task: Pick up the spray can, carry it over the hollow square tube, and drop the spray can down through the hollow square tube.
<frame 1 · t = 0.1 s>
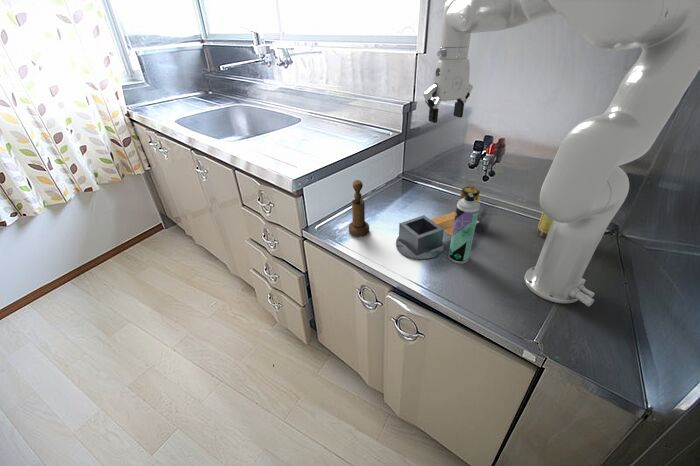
hand: (445, 119, 95), 31 cm above the countertop, fingers open, 9 cm apart
hollow square tube: (419, 245, 95), on the countertop
sauce bottle: (547, 235, 97), on the countertop
brown wooden tall piece: (359, 232, 103), on the countertop
spray can: (458, 258, 90), on the countertop
condiment: (462, 223, 105), on the countertop
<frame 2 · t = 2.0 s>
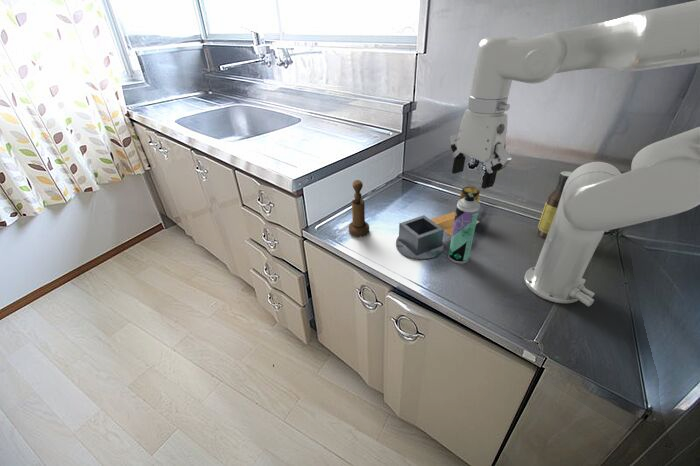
hand: (471, 179, 77), 24 cm above the countertop, fingers open, 9 cm apart
nothing on the countertop moved.
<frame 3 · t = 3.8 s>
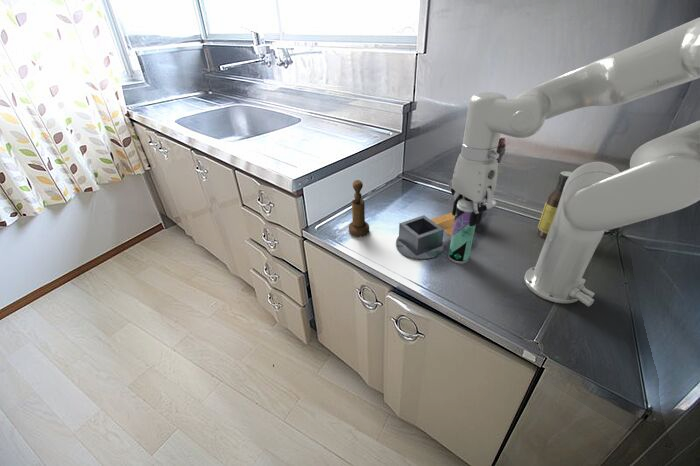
hand: (465, 218, 83), 13 cm above the countertop, fingers closed on spray can, 5 cm apart
spray can: (458, 258, 90), on the countertop, touching gripper
everything else where it was.
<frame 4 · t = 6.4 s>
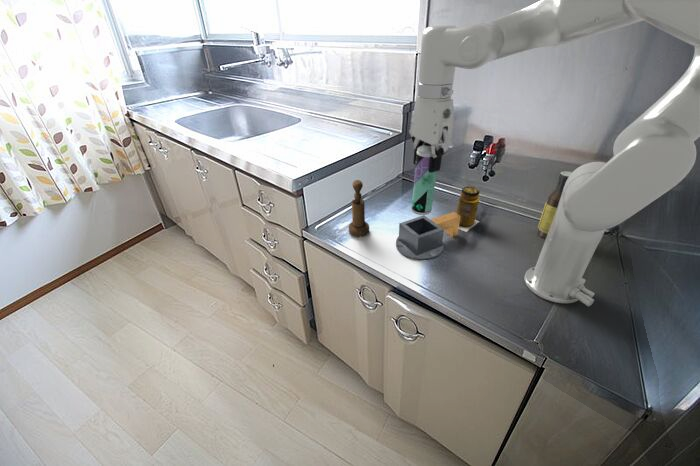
hand: (426, 166, 81), 25 cm above the countertop, fingers closed on spray can, 5 cm apart
spray can: (421, 210, 89), point 12 cm above the countertop, touching gripper
everything else where it was.
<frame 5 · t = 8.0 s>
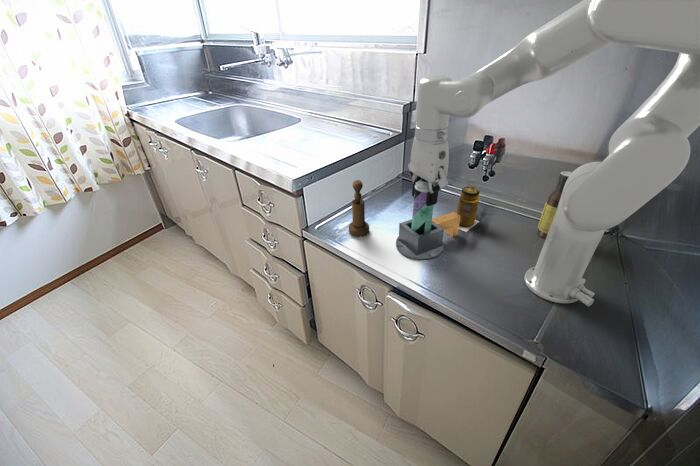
hand: (424, 199, 86), 16 cm above the countertop, fingers closed on spray can, 5 cm apart
spray can: (420, 238, 94), point 3 cm above the countertop, touching gripper
everything else where it was.
when the fingers open (15 cm above the countertop, at t = 9.1 s): spray can stays where it is, resting on hollow square tube.
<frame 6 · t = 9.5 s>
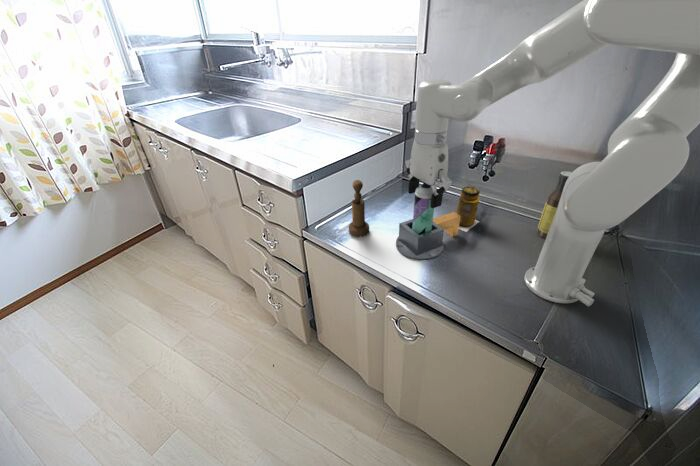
hand: (424, 199, 86), 16 cm above the countertop, fingers open, 9 cm apart
spray can: (420, 243, 95), point 1 cm above the countertop, touching hollow square tube
everything else where it was.
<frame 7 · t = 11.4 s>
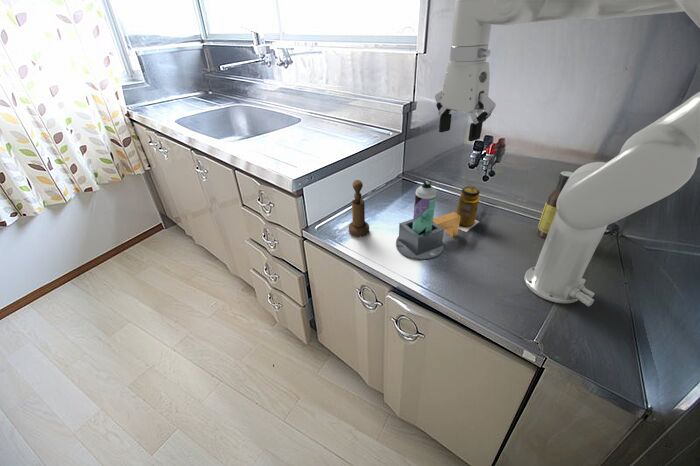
hand: (458, 135, 77), 33 cm above the countertop, fingers open, 9 cm apart
nothing on the countertop moved.
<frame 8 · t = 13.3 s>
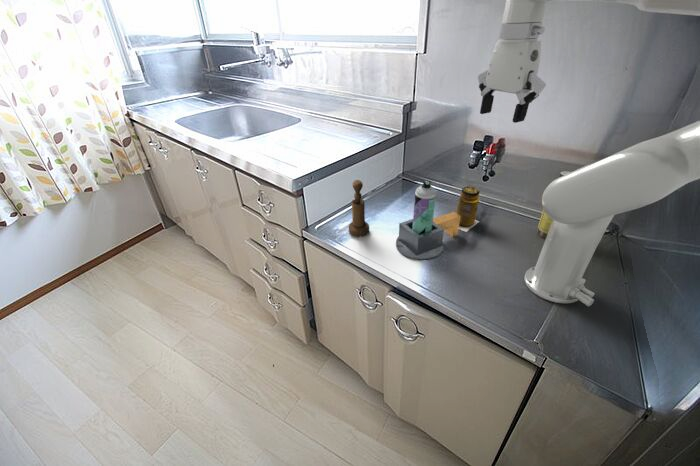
hand: (500, 117, 76), 36 cm above the countertop, fingers open, 9 cm apart
nothing on the countertop moved.
at the end: spray can 0.2 cm off-centre on the hollow square tube, point 0.8 cm above the hollow square tube's base; spray can tilted 0°; the gripper is holding nothing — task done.
